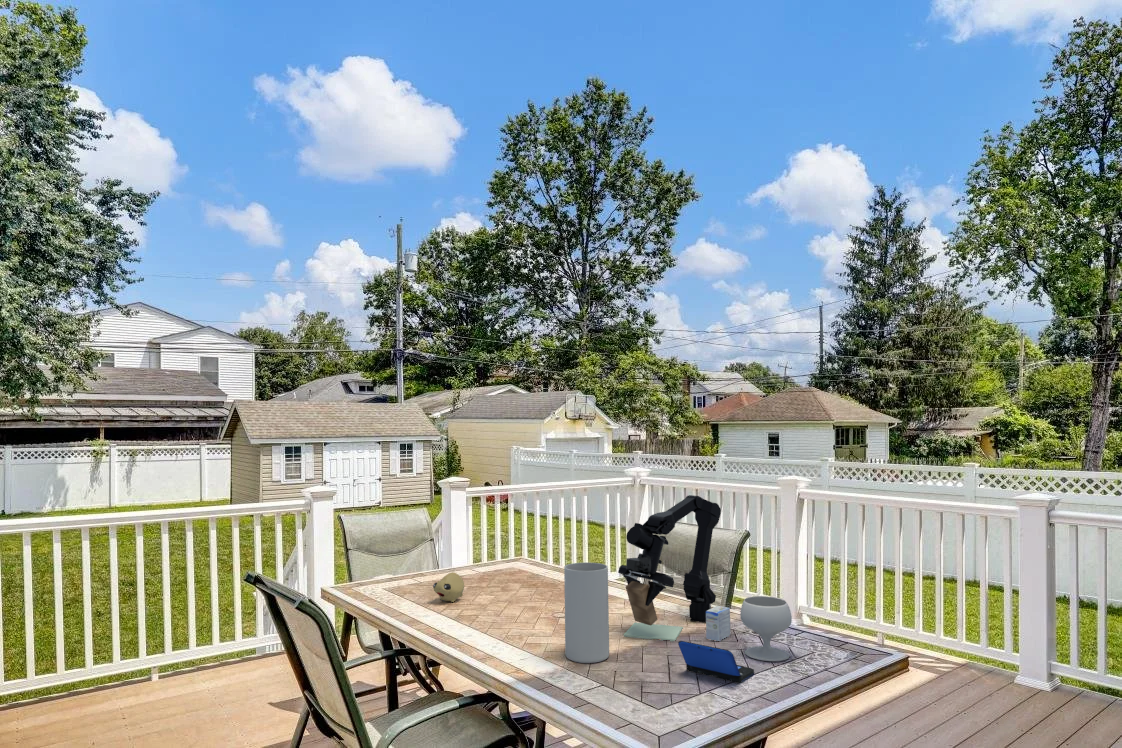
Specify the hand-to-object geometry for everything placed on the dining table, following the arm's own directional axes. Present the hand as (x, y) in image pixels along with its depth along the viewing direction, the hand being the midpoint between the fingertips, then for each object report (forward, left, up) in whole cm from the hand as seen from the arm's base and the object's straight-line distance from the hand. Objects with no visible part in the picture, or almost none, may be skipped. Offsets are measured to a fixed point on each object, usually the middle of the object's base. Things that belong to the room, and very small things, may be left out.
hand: (638, 603), depth 206 cm
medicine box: (-23, -8, -11) cm, 27 cm away
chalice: (-38, +4, -11) cm, 40 cm away
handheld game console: (-27, +23, -11) cm, 37 cm away
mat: (-3, -7, -10) cm, 13 cm away
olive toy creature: (+79, -21, -11) cm, 82 cm away
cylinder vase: (+10, +21, -11) cm, 25 cm away
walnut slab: (-2, -3, -6) cm, 7 cm away
